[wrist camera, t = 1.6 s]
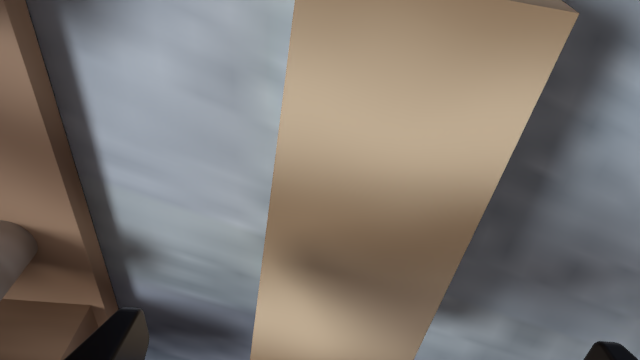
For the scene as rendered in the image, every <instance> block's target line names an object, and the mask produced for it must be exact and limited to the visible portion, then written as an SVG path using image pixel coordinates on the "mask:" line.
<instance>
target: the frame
mask: <svg viewBox="0 0 640 360" xmlns="http://www.w3.org/2000/svg"><path fill="white" fill-rule="evenodd" d="M117 310H118V306H117V302H116V299H115V296H114V292H113V289H112V286H111V283H110V279H109V276H108V273H107V269H106V266H105V263H104V259H103V256H102V253H101V249H100V246H99V243H98V240H97V236H96V233H95V230H94V226H93V223H92V220H91V216H90V213H89V210H88V206H87V203H86V200H85V197H84V193H83V190H82V187H81V183H80V180H79V177H78V173H77V170H76V167H75V163H74V160H73V157H72V154H71V150H70V147H69V144H68V140H67V137H66V134H65V130H64V127H63V124H62V121H61V117H60V114H59V111H58V107H57V104H56V101H55V97H54V94H53V91H52V87H51V84H50V81H49V78H48V74H47V71H46V68H45V64H44V61H43V58H42V54H41V51H40V48H39V44H38V41H37V38H36V35H35V31H34V28H33V25H32V21H31V18H30V15H29V11H28V8H27V5H26V1H25V0H0V360H64V359H65V358H66V357H67V356H68V355H69V354H70V353H71V352H73V351H74V350H75V349H76V348H77V347H78V346H79V345H80V344H81V343H82V342H83V341H84V340H86V339H87V338H88V337H89V336H90V335H91V334H92V333H93V332H94V331H95V330H96V329H98V328H99V327H100V326H101V325H102V324H103V323H104V322H105V321H106V320H107V319H108V318H109V317H111V316H112V315H113V314H114V313H115V312H116V311H117Z"/></svg>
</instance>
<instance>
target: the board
mask: <svg viewBox="0 0 640 360" xmlns="http://www.w3.org/2000/svg"><path fill="white" fill-rule="evenodd" d="M578 15H579V13H578V12H577V11H575V10H574V9H573V8H571V7H570V6H569V5H567V4H566V3H564V2H563V1H562V0H295V5H294V13H293V21H292V29H291V37H290V45H289V53H288V61H287V69H286V77H285V85H284V93H283V101H282V109H281V117H280V125H279V133H278V141H277V148H276V156H275V164H274V172H273V180H272V188H271V196H270V204H269V212H268V220H267V228H266V236H265V244H264V252H263V260H262V268H261V276H260V284H259V292H258V300H257V308H256V316H255V324H254V332H253V340H252V348H251V356H250V360H414V357H415V355H416V353H417V351H418V349H419V347H420V345H421V343H422V341H423V339H424V337H425V335H426V332H427V330H428V328H429V326H430V324H431V322H432V320H433V318H434V316H435V314H436V312H437V309H438V307H439V305H440V303H441V301H442V299H443V297H444V295H445V293H446V291H447V289H448V287H449V284H450V282H451V280H452V278H453V276H454V274H455V272H456V270H457V268H458V266H459V264H460V261H461V259H462V257H463V255H464V253H465V251H466V249H467V247H468V245H469V243H470V241H471V239H472V236H473V234H474V232H475V230H476V228H477V226H478V224H479V222H480V220H481V218H482V216H483V213H484V211H485V209H486V207H487V205H488V203H489V201H490V199H491V197H492V195H493V193H494V191H495V188H496V186H497V184H498V182H499V180H500V178H501V176H502V174H503V172H504V170H505V168H506V165H507V163H508V161H509V159H510V157H511V155H512V153H513V151H514V149H515V147H516V145H517V142H518V140H519V138H520V136H521V134H522V132H523V130H524V128H525V126H526V124H527V122H528V120H529V117H530V115H531V113H532V111H533V109H534V107H535V105H536V103H537V101H538V99H539V97H540V94H541V92H542V90H543V88H544V86H545V84H546V82H547V80H548V78H549V76H550V74H551V72H552V69H553V67H554V65H555V63H556V61H557V59H558V57H559V55H560V53H561V51H562V49H563V46H564V44H565V42H566V40H567V38H568V36H569V34H570V32H571V30H572V28H573V26H574V24H575V21H576V19H577V17H578Z"/></svg>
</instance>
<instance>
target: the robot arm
mask: <svg viewBox="0 0 640 360" xmlns="http://www.w3.org/2000/svg"><path fill="white" fill-rule="evenodd" d="M148 344H149V331H148V327H147V323H146V319H145V316H144V312H143V310H141V309H140V308H128V307H123V308H120V309H118V310H117V311H116V312H115V313H114V314H113V315H112V316H111V317H109V318H108V319H107V320H106V321H105V322H104V323H103V324H102V325H101V326H100V327H99V328H98V329H96V330H95V331H94V332H93V333H92V334H91V335H90V336H89V337H88V338H87V339H86V340H84V341H83V342H82V343H81V344H80V345H79V346H78V347H77V348H76V349H75V350H74V351H73V352H71V353H70V354H69V355H68V356H67V357H66V358H65V359H64V360H145V356H146V352H147V348H148ZM584 360H638V359H637V358H636V357H635V356H634V355H633V354H631V353H630V352H629V351H628V350H627V349H626V348H625V347H624V346H622V345H621V344H619V343H615V342H603V341H598V342H596V343H595V344H594V345H593V346H592V348H591V349H590V351H589V352H588V354H587V355H586V357H585V358H584Z"/></svg>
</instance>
